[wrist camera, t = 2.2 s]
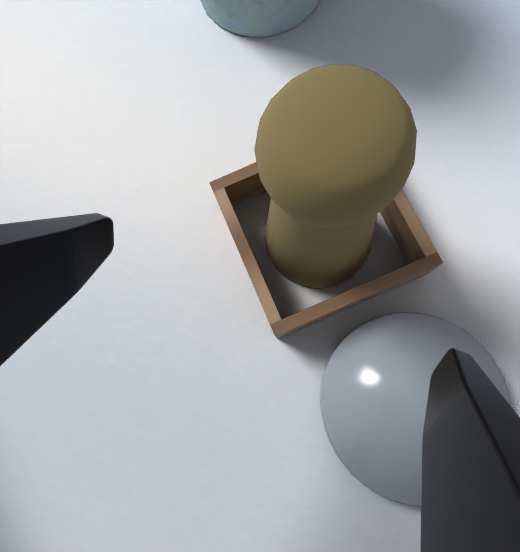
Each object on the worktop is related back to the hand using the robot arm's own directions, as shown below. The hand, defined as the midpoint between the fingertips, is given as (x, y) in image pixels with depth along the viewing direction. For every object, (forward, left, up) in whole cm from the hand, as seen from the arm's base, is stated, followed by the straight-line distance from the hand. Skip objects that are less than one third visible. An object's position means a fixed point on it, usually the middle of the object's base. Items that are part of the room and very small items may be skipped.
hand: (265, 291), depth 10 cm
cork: (+4, -4, -12) cm, 13 cm away
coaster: (-6, -4, -11) cm, 14 cm away
